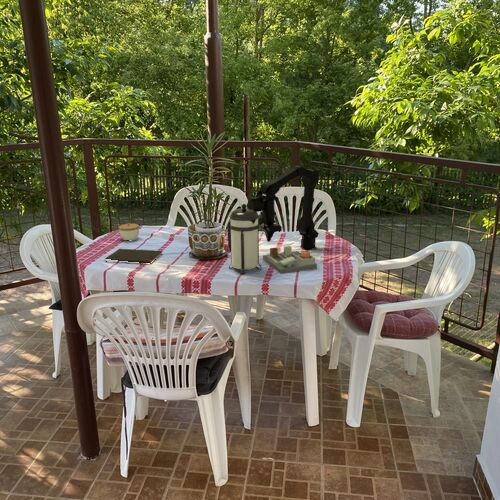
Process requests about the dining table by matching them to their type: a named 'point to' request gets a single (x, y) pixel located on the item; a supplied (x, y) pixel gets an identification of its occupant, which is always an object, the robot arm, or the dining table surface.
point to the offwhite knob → (287, 250)
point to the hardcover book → (135, 255)
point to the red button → (305, 254)
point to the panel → (291, 267)
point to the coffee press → (244, 239)
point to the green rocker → (287, 260)
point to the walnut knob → (273, 252)
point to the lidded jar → (129, 231)
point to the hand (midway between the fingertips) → (268, 241)
